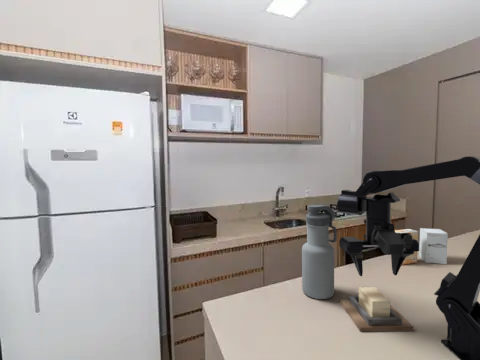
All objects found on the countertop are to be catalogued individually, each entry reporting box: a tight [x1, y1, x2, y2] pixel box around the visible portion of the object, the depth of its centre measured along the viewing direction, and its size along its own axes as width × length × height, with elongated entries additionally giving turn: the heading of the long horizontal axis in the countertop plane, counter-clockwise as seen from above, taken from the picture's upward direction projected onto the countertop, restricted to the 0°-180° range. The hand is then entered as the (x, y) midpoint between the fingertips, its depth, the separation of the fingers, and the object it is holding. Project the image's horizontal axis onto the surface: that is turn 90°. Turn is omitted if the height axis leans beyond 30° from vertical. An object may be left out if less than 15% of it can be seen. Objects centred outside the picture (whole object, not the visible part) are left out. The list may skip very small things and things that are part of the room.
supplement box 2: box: [418, 227, 449, 265], centre depth 106 cm, size 7×7×13 cm
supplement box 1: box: [394, 228, 419, 266], centre depth 105 cm, size 8×5×13 cm, turn 105°
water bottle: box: [301, 204, 338, 300], centre depth 82 cm, size 10×10×28 cm
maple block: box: [358, 286, 391, 317], centre depth 70 cm, size 8×4×5 cm, turn 0°
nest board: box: [339, 295, 414, 332], centre depth 70 cm, size 13×13×2 cm
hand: (377, 275), depth 70 cm, fingers open, 9 cm apart
